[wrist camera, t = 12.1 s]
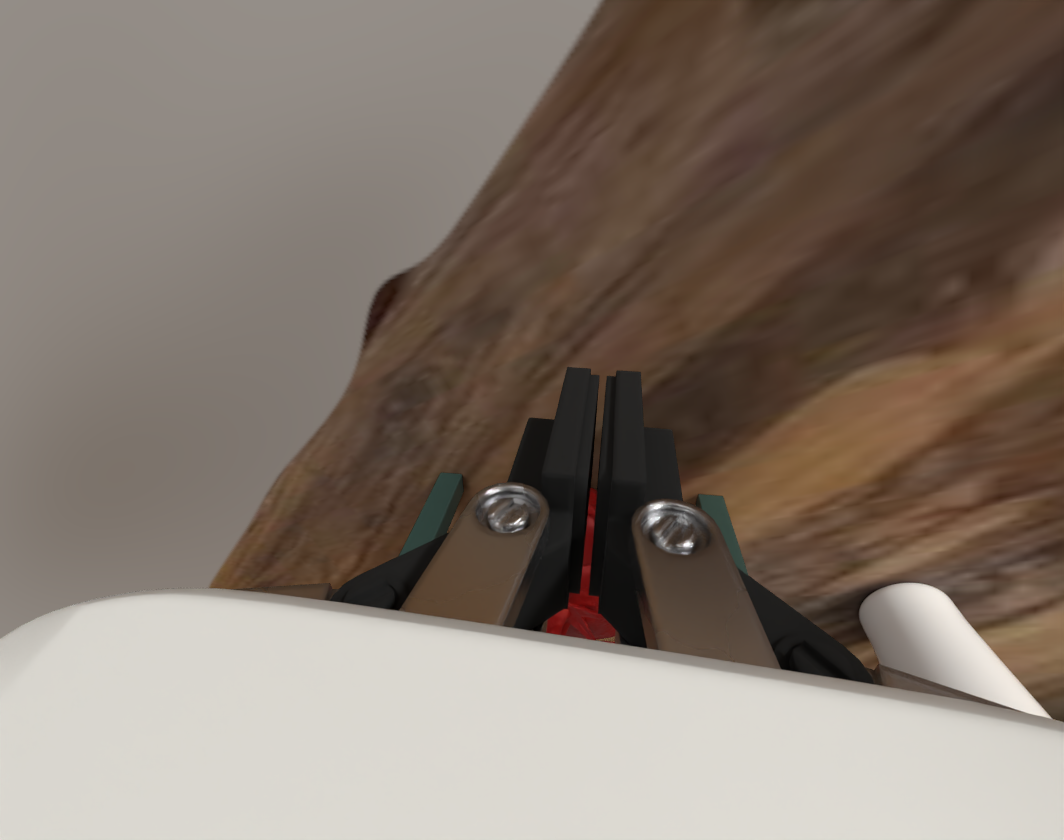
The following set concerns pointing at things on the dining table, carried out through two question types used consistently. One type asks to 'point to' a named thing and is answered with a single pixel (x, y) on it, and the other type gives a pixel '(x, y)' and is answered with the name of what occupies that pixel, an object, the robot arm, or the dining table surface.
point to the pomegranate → (583, 598)
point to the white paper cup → (938, 645)
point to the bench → (450, 491)
